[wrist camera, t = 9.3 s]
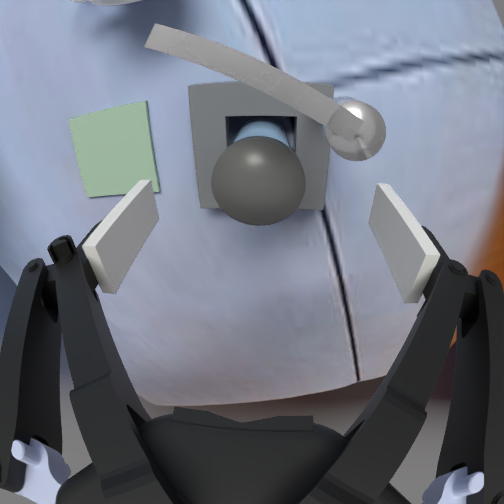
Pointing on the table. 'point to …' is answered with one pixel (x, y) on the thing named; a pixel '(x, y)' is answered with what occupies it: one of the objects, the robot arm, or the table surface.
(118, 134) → the mat
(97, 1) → the mug
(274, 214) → the plug
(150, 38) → the lever
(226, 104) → the socket
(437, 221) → the table surface
